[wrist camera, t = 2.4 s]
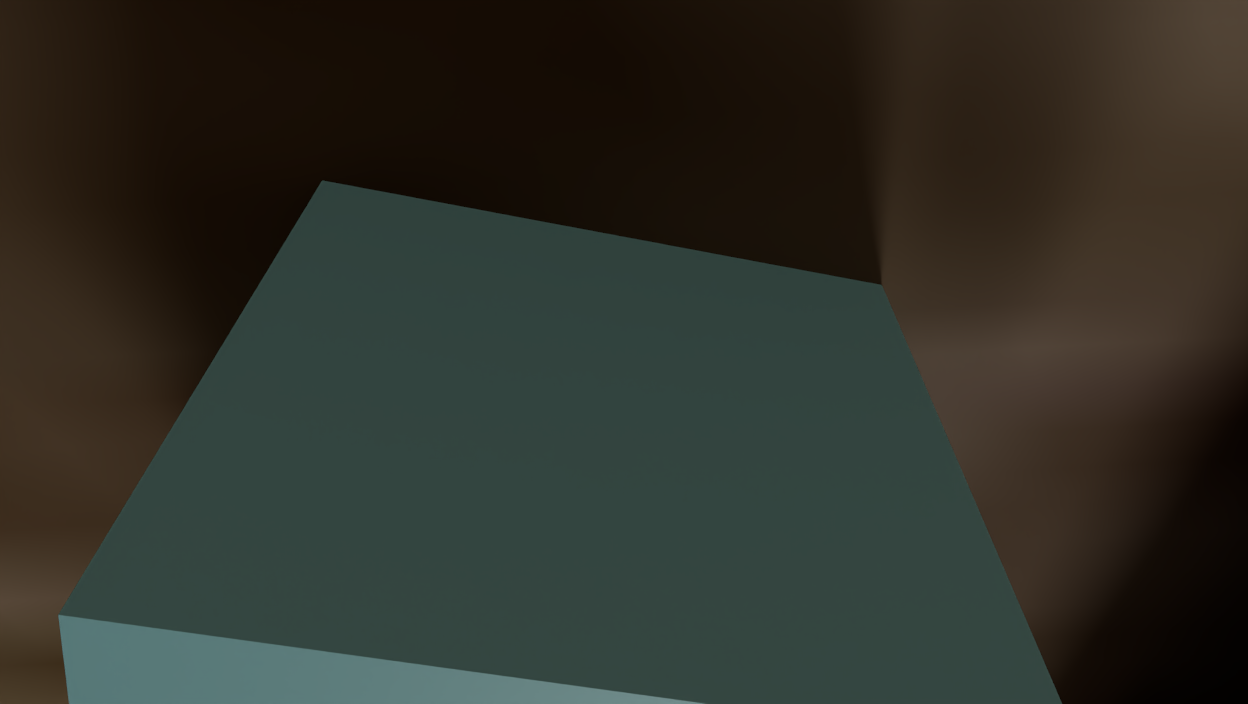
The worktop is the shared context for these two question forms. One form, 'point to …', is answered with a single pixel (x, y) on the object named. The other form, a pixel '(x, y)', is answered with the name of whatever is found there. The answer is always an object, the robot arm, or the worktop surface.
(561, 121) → the worktop surface
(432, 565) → the teal cube box
